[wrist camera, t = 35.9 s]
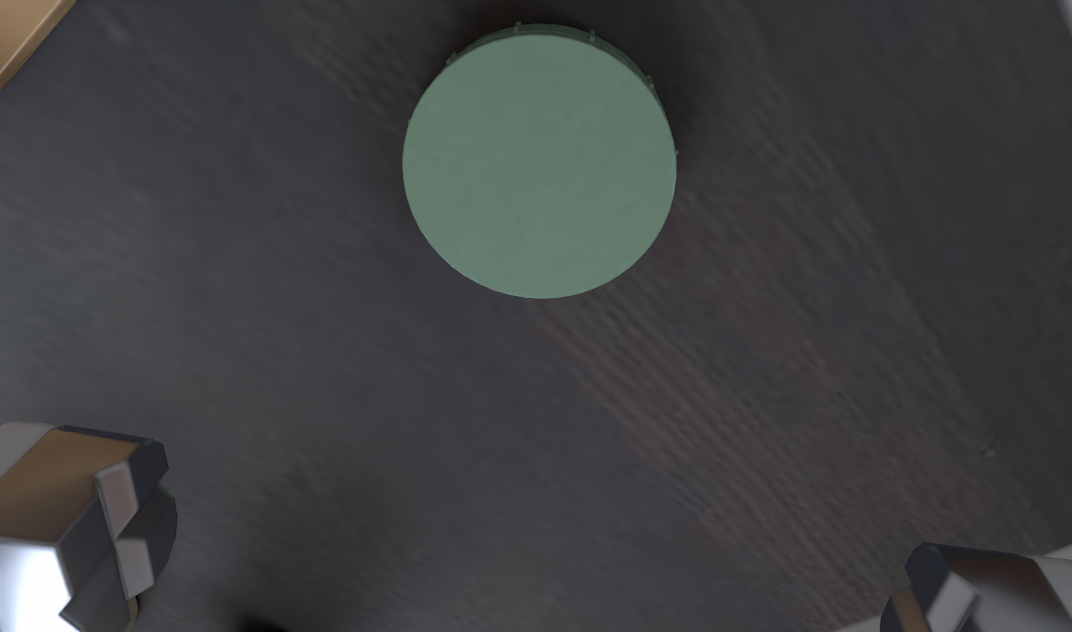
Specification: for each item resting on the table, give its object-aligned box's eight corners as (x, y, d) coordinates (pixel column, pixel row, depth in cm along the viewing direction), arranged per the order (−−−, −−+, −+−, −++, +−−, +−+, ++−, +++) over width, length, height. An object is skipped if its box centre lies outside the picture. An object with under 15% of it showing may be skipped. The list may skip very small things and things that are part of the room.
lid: (411, 258, 21) (400, 283, 20) (417, 7, 18) (404, 17, 17) (646, 286, 21) (650, 312, 20) (695, 40, 18) (703, 53, 17)
